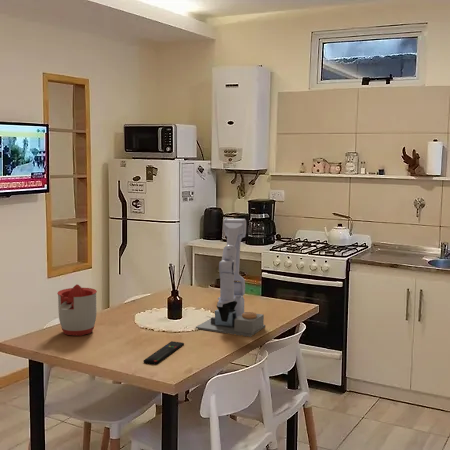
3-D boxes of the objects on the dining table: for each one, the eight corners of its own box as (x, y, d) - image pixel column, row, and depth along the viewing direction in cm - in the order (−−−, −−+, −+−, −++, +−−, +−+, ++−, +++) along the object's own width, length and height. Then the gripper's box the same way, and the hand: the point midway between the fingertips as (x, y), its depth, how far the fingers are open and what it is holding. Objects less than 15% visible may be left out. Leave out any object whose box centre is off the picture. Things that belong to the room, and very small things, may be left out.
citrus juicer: (47, 336, 249) (46, 287, 247) (72, 325, 265) (71, 279, 263) (81, 341, 244) (80, 291, 241) (104, 329, 260) (103, 282, 258)
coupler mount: (212, 319, 276) (212, 303, 275) (265, 326, 265) (265, 310, 264) (195, 328, 261) (195, 312, 261) (250, 336, 251) (250, 320, 250)
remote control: (183, 346, 240) (183, 342, 240) (156, 366, 218) (156, 362, 218) (171, 344, 242) (171, 341, 242) (142, 364, 220) (142, 360, 220)
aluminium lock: (219, 322, 268) (219, 306, 267) (236, 323, 264) (236, 308, 264) (215, 324, 264) (214, 309, 263) (232, 326, 260) (231, 311, 260)
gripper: (226, 283, 270) (225, 314, 272) (210, 290, 257) (210, 322, 259) (240, 285, 267) (240, 316, 269) (226, 292, 254) (225, 325, 256)
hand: (226, 319), depth 264 cm, fingers closed on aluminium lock, 5 cm apart
